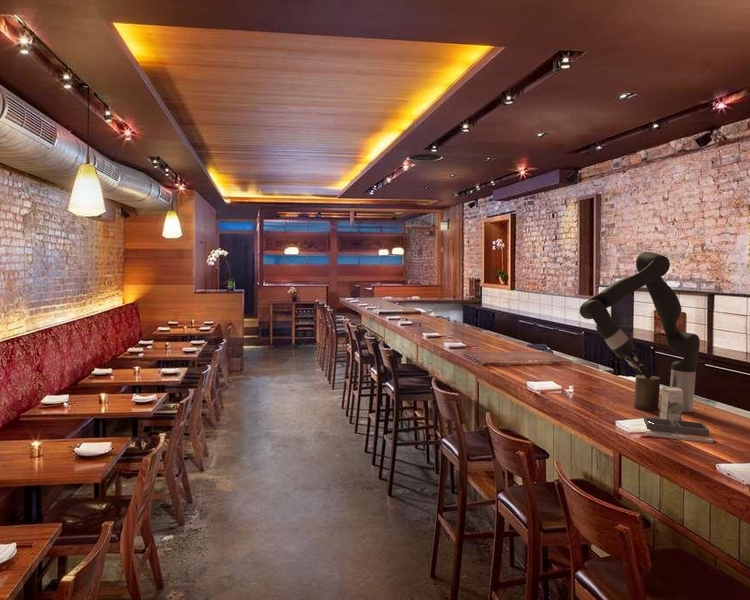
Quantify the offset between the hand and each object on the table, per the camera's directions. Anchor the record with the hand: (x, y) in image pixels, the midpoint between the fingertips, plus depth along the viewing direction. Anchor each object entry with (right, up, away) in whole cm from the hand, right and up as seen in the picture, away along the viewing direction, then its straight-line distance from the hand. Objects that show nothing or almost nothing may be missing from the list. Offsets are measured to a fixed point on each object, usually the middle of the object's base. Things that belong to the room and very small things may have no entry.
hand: (646, 376), depth 225 cm
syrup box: (+9, -19, +1) cm, 21 cm away
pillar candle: (+12, -17, +26) cm, 33 cm away
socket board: (+6, -20, -11) cm, 23 cm away
